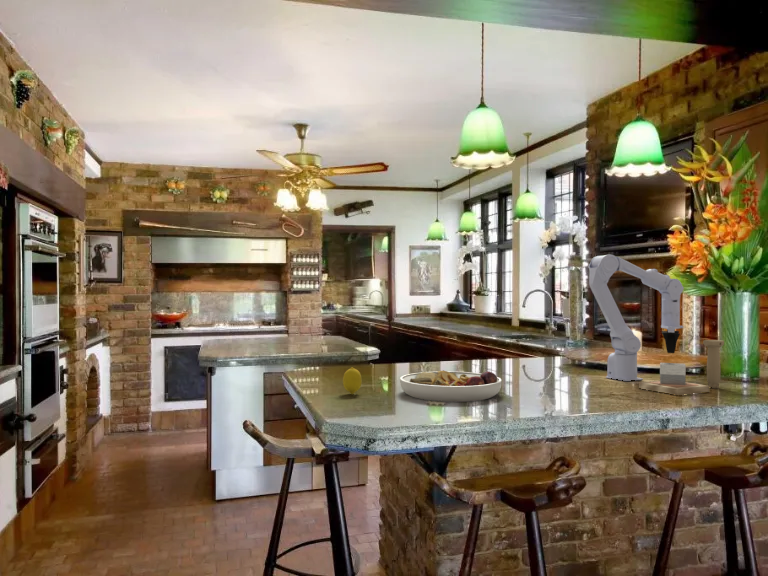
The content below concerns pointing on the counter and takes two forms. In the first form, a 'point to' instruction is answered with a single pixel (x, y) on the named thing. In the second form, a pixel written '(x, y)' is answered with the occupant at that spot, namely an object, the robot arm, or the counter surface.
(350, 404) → the counter surface
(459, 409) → the counter surface
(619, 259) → the robot arm
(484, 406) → the counter surface
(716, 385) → the handle
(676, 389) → the stand
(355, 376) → the lemon
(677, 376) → the block
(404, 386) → the bowl
